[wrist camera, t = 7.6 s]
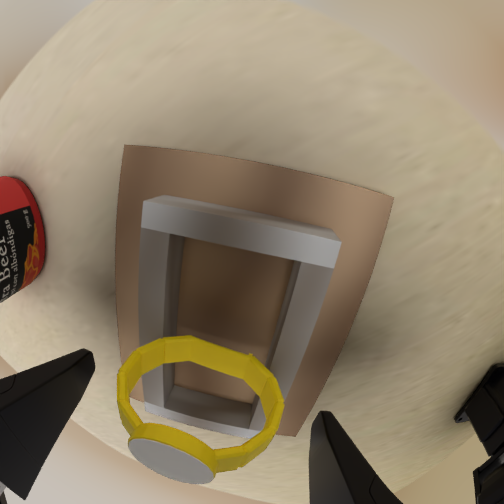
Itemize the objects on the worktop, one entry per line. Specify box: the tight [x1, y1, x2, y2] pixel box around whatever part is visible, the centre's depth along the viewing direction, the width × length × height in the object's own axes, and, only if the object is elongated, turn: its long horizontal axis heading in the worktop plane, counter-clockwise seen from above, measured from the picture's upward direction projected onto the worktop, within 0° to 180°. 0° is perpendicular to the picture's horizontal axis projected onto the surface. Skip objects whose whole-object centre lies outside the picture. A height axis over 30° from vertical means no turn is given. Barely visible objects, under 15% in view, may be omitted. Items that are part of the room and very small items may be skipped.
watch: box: [117, 335, 285, 484], centre depth 9 cm, size 6×3×6 cm, turn 77°
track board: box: [115, 145, 394, 439], centre depth 12 cm, size 12×16×3 cm
